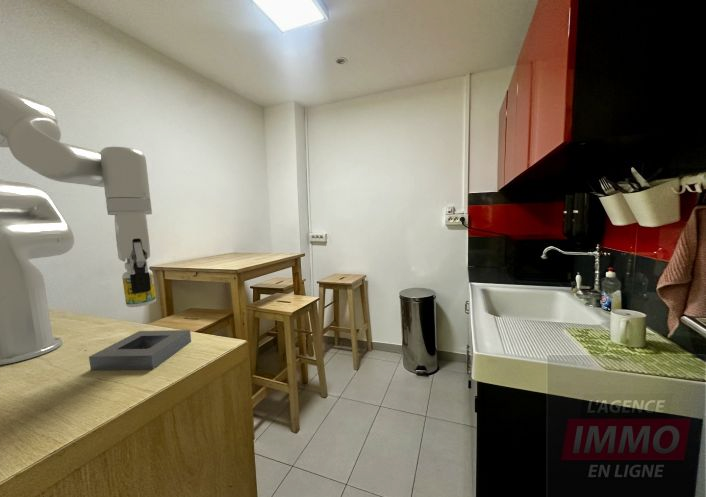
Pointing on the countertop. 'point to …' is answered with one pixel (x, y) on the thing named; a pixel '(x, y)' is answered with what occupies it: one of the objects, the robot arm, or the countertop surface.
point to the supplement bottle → (137, 298)
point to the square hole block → (140, 350)
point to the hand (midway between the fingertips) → (139, 288)
